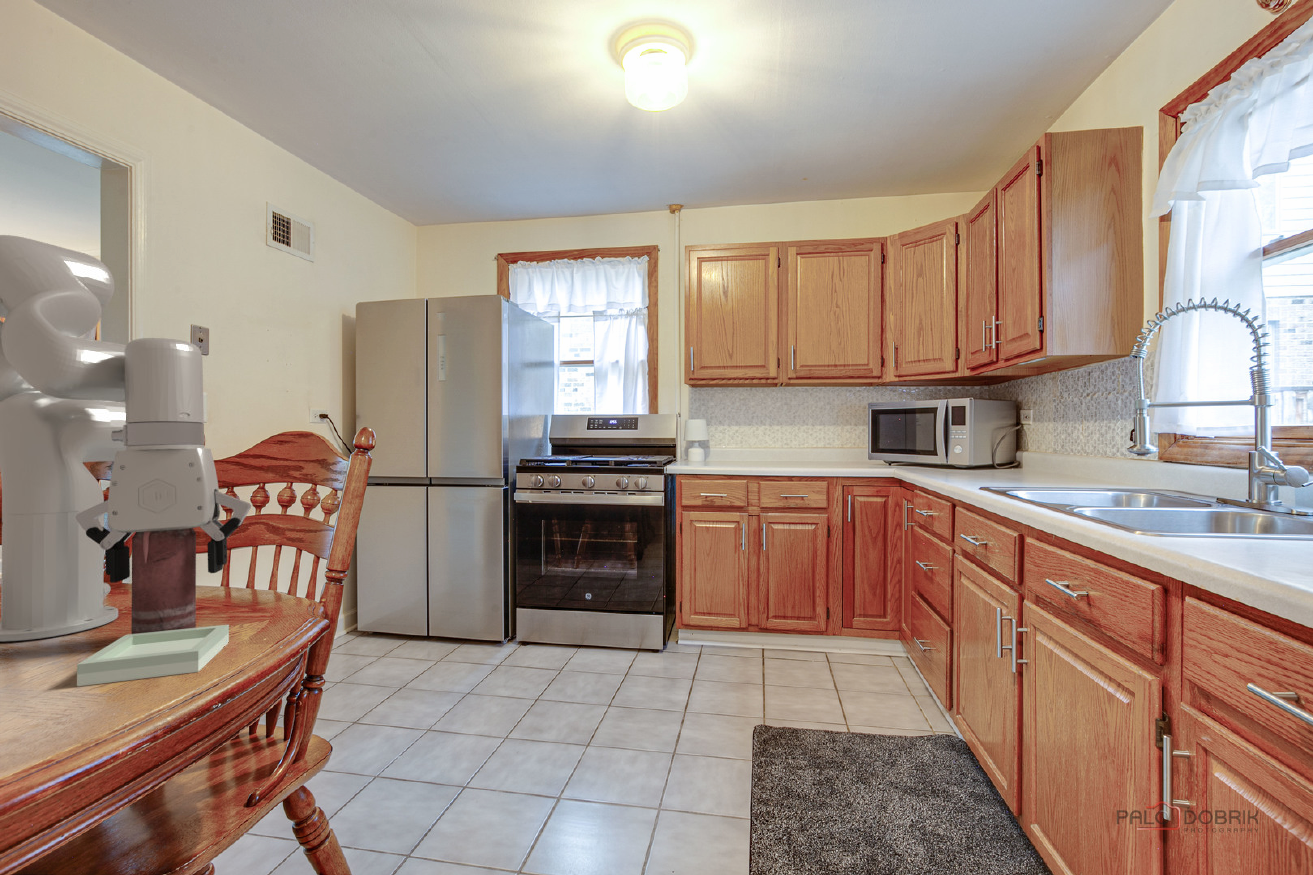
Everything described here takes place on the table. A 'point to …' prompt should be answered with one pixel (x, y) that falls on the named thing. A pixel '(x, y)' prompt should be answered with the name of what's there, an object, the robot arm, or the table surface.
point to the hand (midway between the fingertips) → (169, 575)
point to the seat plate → (153, 655)
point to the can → (163, 580)
